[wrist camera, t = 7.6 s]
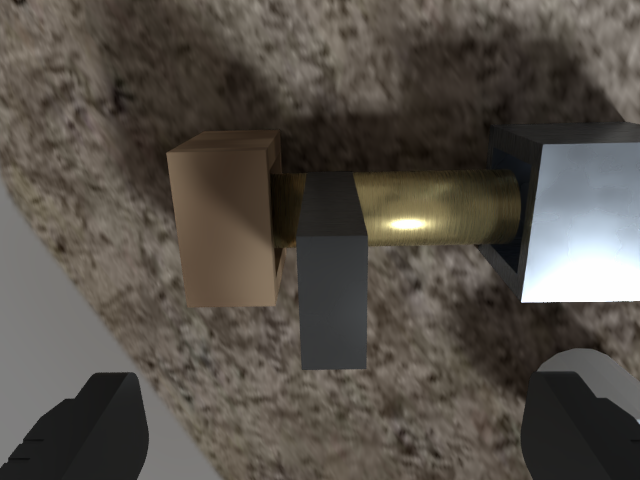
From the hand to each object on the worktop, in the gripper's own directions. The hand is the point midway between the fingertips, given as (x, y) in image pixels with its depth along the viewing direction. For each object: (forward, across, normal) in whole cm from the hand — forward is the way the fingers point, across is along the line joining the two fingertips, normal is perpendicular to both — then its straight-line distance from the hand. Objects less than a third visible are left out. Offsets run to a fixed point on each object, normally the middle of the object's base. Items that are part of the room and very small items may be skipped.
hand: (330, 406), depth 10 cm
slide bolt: (+16, -2, 0) cm, 16 cm away
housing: (+18, -12, 0) cm, 21 cm away
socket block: (+17, +5, 0) cm, 18 cm away
